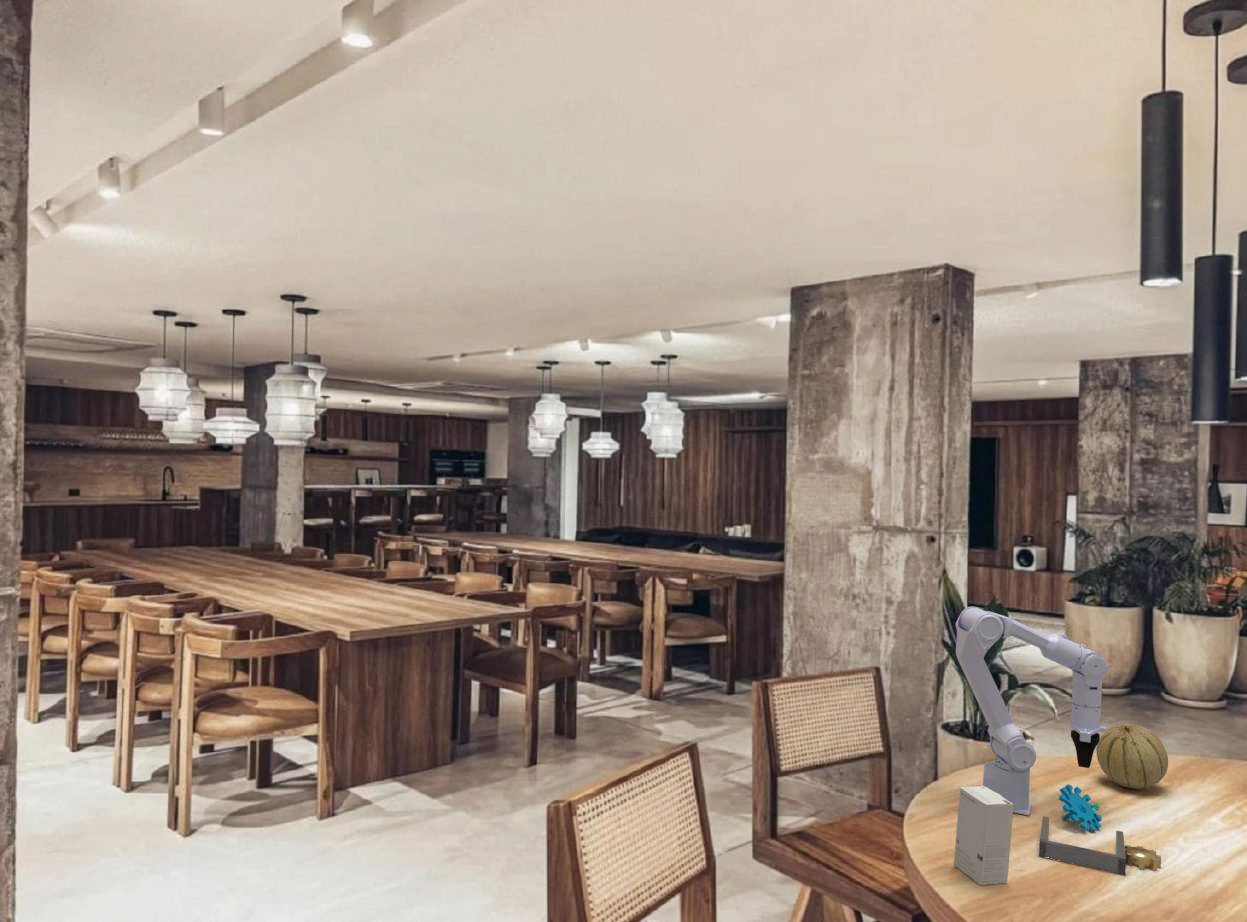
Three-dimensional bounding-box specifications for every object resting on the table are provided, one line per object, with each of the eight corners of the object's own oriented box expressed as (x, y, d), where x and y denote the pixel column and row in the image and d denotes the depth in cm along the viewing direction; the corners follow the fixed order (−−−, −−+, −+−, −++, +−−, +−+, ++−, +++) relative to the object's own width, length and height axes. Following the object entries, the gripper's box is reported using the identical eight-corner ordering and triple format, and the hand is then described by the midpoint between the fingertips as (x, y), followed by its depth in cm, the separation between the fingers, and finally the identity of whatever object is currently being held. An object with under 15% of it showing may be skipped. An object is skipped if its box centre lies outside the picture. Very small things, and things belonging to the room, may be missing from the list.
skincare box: (953, 866, 165) (956, 785, 165) (981, 863, 166) (984, 784, 166) (982, 887, 157) (985, 803, 157) (1011, 884, 158) (1014, 801, 158)
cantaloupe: (1167, 784, 213) (1170, 722, 213) (1166, 803, 200) (1168, 737, 200) (1097, 771, 221) (1100, 711, 221) (1092, 788, 208) (1094, 724, 208)
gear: (1080, 829, 180) (1055, 782, 187) (1059, 842, 183) (1035, 795, 190) (1116, 829, 184) (1090, 783, 191) (1095, 841, 188) (1070, 796, 195)
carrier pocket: (1038, 856, 170) (1039, 841, 170) (1042, 830, 183) (1042, 815, 183) (1163, 883, 161) (1164, 867, 161) (1158, 854, 173) (1158, 838, 173)
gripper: (1107, 715, 187) (1105, 779, 187) (1106, 700, 200) (1104, 760, 200) (1070, 709, 190) (1067, 773, 190) (1071, 695, 203) (1069, 754, 203)
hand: (1084, 766), depth 195 cm, fingers closed
